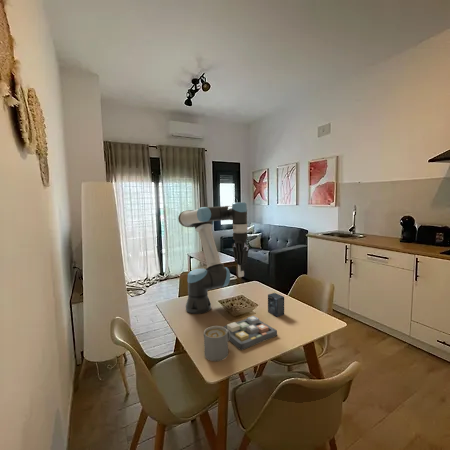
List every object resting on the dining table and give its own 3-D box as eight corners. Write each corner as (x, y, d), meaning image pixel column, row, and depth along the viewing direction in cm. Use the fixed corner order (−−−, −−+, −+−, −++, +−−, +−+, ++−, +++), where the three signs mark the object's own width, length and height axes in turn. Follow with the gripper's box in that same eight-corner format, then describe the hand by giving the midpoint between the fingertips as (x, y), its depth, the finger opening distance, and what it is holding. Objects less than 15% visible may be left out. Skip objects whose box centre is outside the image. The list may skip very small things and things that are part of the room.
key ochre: (235, 337, 119) (235, 333, 119) (243, 334, 122) (242, 330, 121) (240, 342, 116) (240, 337, 115) (248, 338, 118) (248, 334, 118)
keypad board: (219, 332, 127) (219, 327, 127) (253, 321, 138) (253, 316, 138) (241, 350, 112) (241, 343, 111) (277, 335, 123) (276, 329, 123)
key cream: (227, 328, 125) (226, 324, 125) (234, 325, 127) (234, 321, 127) (232, 332, 121) (232, 327, 121) (239, 329, 124) (239, 325, 123)
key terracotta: (255, 330, 126) (255, 325, 125) (262, 327, 128) (262, 323, 128) (261, 334, 122) (261, 329, 122) (268, 331, 124) (268, 327, 124)
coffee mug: (213, 364, 103) (212, 340, 102) (200, 353, 111) (199, 330, 110) (239, 352, 111) (238, 329, 110) (225, 342, 119) (224, 321, 118)
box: (267, 312, 149) (267, 294, 148) (275, 309, 152) (274, 292, 151) (277, 317, 142) (276, 298, 141) (284, 314, 145) (284, 296, 144)
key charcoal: (245, 330, 122) (245, 326, 122) (253, 328, 125) (252, 323, 124) (251, 334, 119) (251, 330, 118) (258, 331, 121) (258, 327, 121)
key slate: (246, 321, 131) (246, 317, 131) (253, 319, 134) (253, 315, 134) (252, 325, 128) (252, 320, 128) (259, 322, 130) (259, 318, 130)
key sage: (237, 327, 128) (237, 323, 128) (244, 325, 131) (244, 321, 131) (242, 331, 125) (242, 327, 124) (249, 329, 127) (249, 324, 127)
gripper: (227, 231, 138) (228, 274, 140) (241, 234, 127) (242, 280, 129) (238, 230, 142) (239, 272, 144) (253, 232, 131) (254, 278, 133)
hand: (241, 276), depth 137 cm, fingers closed
